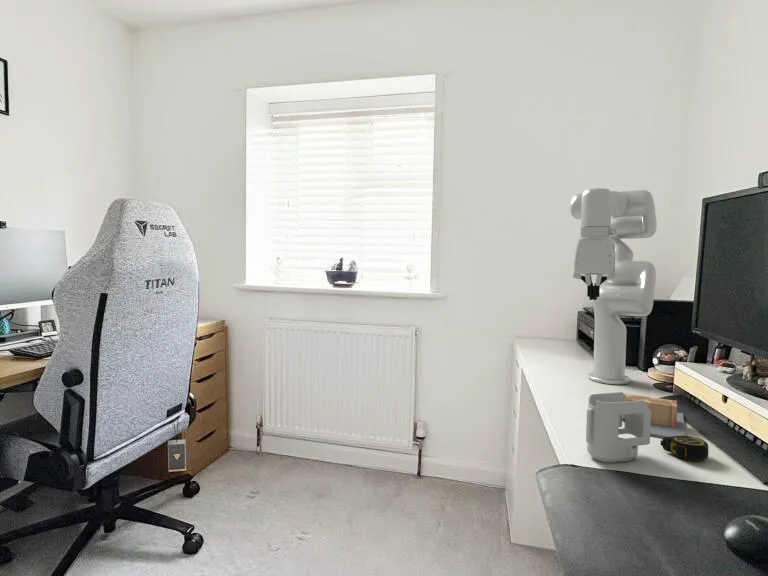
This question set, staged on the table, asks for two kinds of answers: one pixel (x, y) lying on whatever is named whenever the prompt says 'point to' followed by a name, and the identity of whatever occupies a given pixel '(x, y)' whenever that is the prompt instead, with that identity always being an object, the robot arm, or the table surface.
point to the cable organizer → (616, 427)
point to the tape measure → (686, 447)
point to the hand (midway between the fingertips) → (593, 299)
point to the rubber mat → (668, 428)
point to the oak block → (658, 409)
